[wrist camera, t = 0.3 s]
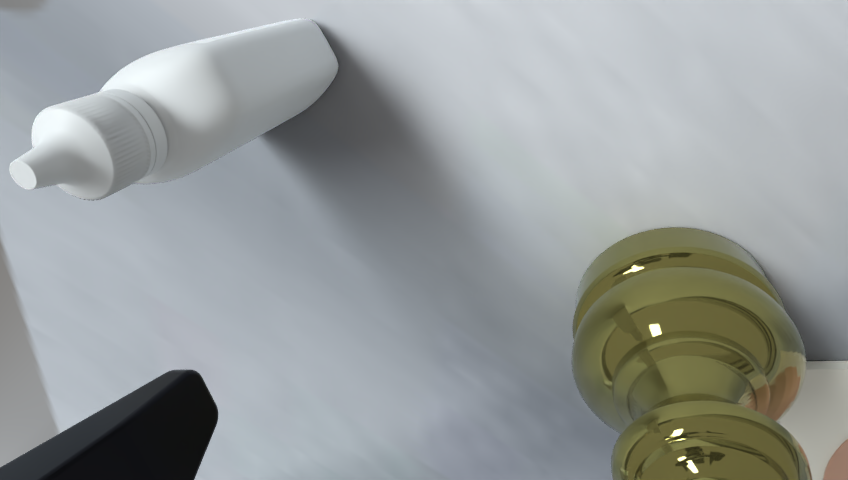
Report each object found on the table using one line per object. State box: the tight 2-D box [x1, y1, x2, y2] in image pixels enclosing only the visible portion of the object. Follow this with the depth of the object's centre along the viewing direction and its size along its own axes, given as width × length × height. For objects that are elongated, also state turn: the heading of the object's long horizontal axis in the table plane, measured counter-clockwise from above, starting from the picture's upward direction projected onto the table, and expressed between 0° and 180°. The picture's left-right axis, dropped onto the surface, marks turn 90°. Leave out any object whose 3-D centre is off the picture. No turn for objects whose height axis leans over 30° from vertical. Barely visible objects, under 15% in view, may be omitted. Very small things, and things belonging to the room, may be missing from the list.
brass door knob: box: [572, 228, 812, 480], centre depth 19 cm, size 7×7×10 cm
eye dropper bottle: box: [10, 19, 339, 201], centre depth 18 cm, size 4×6×12 cm
